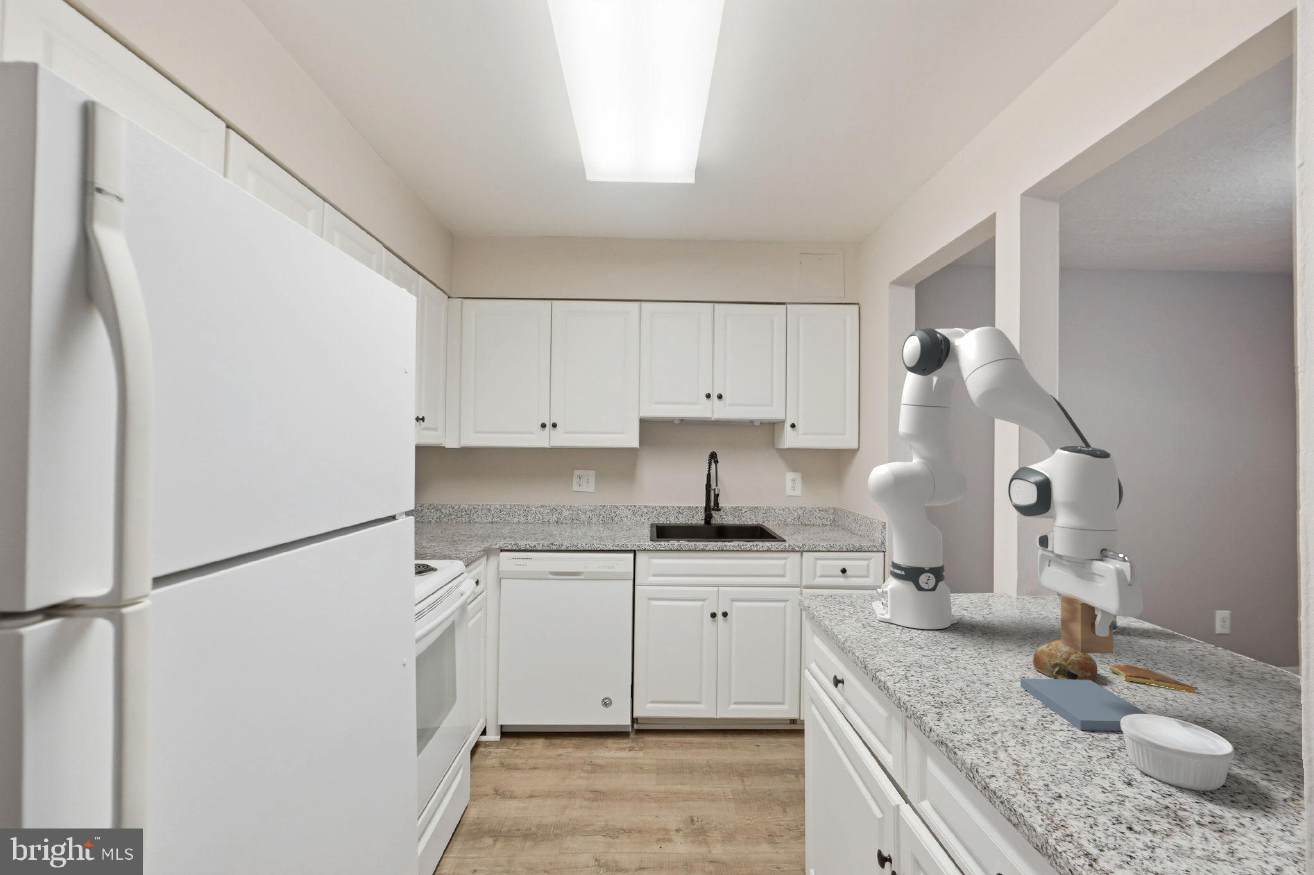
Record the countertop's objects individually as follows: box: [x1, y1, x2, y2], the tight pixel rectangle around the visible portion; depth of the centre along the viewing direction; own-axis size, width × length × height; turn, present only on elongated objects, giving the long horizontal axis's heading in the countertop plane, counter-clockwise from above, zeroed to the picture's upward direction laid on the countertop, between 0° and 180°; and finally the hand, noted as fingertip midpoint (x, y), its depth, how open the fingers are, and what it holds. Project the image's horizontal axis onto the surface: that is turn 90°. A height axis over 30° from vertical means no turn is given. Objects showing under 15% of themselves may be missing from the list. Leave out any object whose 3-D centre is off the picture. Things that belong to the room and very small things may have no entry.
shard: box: [1108, 664, 1199, 693], centre depth 108 cm, size 11×8×2 cm
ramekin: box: [1120, 713, 1235, 792], centre depth 78 cm, size 11×11×5 cm
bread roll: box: [1032, 639, 1098, 682], centre depth 112 cm, size 10×10×8 cm
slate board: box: [1020, 677, 1149, 732], centre depth 97 cm, size 16×12×2 cm
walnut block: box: [1060, 595, 1114, 655], centre depth 97 cm, size 5×5×8 cm
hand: (1086, 628), depth 97 cm, fingers closed on walnut block, 5 cm apart
